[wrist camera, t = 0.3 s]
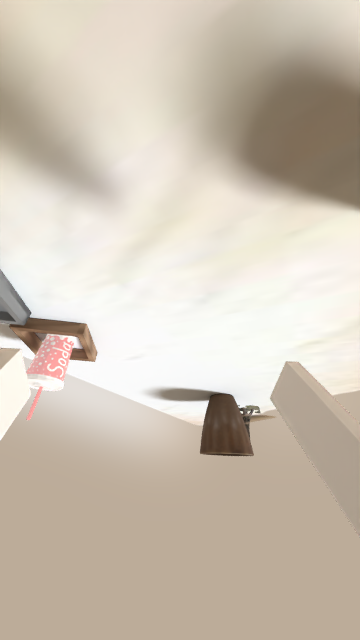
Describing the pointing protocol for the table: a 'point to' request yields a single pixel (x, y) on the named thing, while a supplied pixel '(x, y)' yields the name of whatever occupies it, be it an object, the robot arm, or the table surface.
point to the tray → (11, 304)
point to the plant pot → (224, 429)
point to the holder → (57, 328)
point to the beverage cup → (50, 365)
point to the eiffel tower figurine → (248, 415)
